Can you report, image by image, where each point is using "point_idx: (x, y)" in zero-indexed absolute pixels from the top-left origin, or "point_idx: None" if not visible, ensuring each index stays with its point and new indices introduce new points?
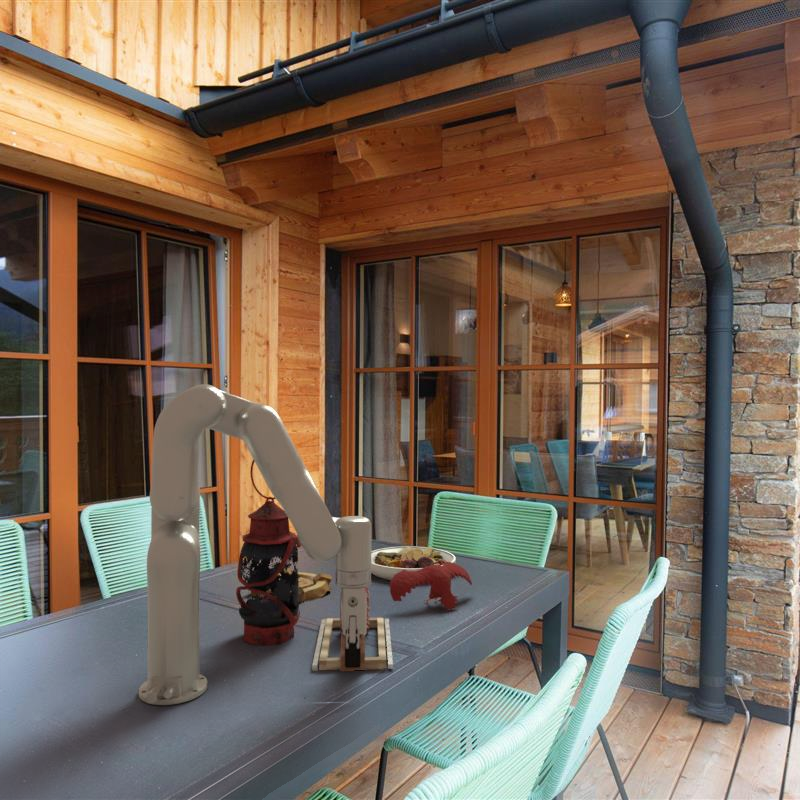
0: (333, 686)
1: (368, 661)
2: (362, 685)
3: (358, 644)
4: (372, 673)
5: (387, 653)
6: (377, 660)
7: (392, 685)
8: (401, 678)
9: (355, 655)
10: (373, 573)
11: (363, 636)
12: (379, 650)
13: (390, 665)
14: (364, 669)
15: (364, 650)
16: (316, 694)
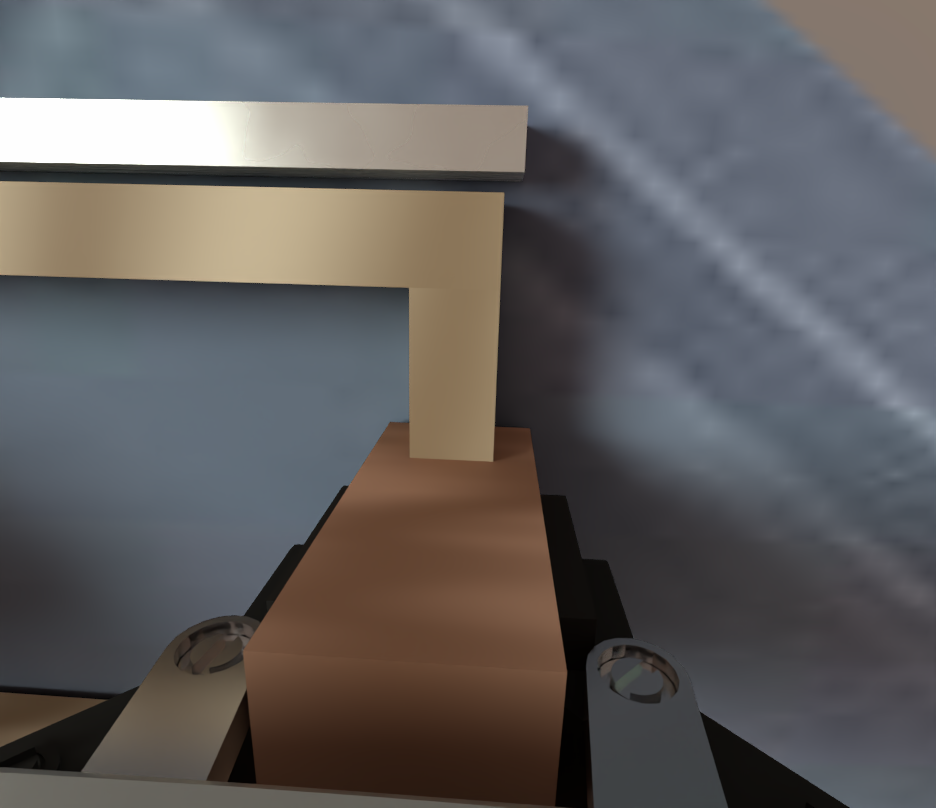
0: (784, 677)
1: (494, 414)
2: (822, 455)
3: (697, 724)
4: (566, 351)
5: (196, 163)
6: (498, 309)
7: (899, 151)
8: (740, 27)
9: (625, 627)
10: None
11: (505, 696)
12: (200, 270)
13: (525, 143)
14: (530, 434)
15: (543, 530)
16: (898, 786)
